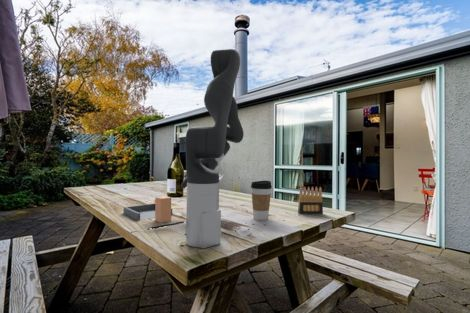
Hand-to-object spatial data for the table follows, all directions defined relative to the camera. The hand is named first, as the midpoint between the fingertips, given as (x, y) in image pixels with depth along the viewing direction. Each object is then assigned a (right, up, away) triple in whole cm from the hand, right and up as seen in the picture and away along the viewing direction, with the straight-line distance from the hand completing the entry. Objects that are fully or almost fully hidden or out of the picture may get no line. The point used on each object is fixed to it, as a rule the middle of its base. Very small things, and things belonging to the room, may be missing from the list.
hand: (187, 188), depth 98 cm
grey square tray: (-17, -12, +3) cm, 21 cm away
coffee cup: (+29, -13, +2) cm, 32 cm away
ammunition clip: (+52, -13, +12) cm, 55 cm away
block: (-8, -11, -7) cm, 16 cm away
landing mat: (-8, -12, -7) cm, 16 cm away
